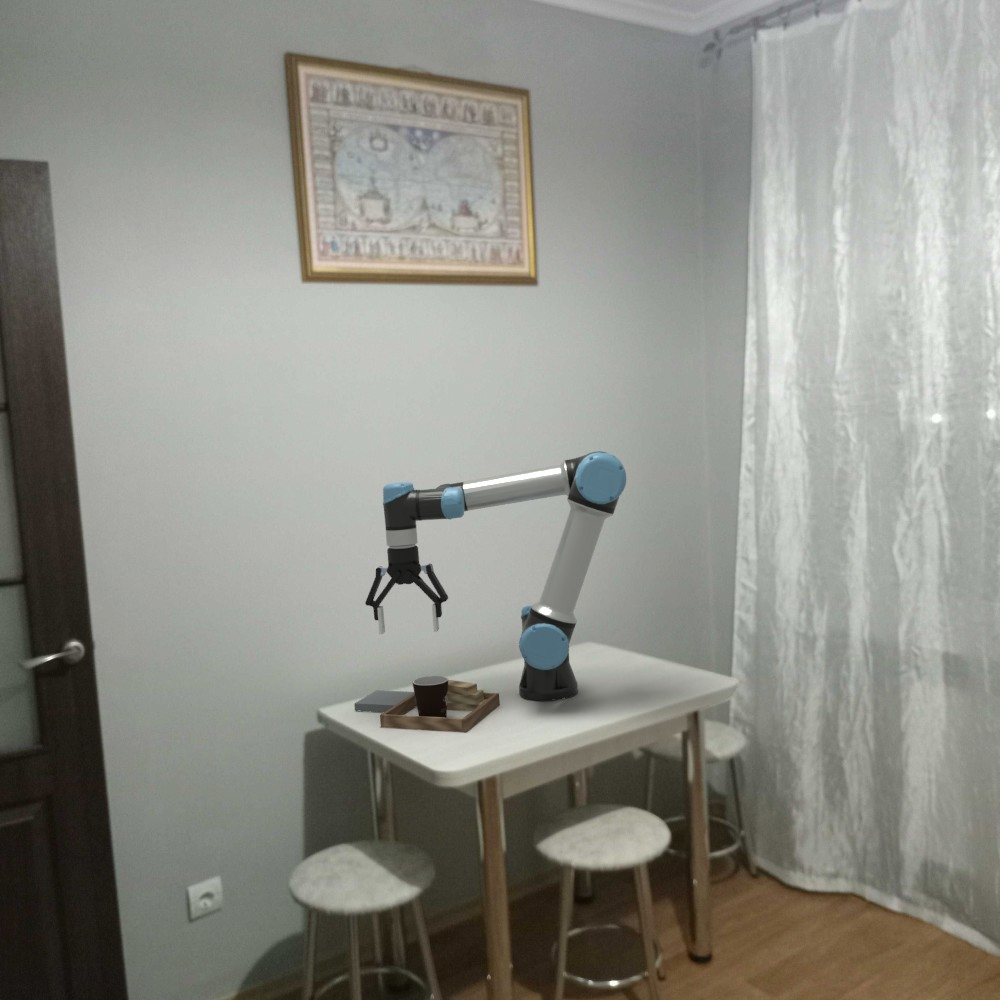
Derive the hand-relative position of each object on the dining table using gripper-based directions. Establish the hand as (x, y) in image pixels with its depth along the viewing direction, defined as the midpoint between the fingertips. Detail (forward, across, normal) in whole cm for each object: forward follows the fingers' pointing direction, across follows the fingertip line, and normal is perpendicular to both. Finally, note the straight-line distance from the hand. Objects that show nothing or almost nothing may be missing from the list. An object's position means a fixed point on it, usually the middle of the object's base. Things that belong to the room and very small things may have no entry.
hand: (409, 632), depth 242 cm
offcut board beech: (+16, -10, -4) cm, 20 cm away
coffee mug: (+21, -6, +5) cm, 22 cm away
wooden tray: (+21, -7, +2) cm, 22 cm away
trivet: (+20, +9, -8) cm, 24 cm away
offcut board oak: (+21, -10, -5) cm, 24 cm away
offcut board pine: (+19, -9, -5) cm, 22 cm away
